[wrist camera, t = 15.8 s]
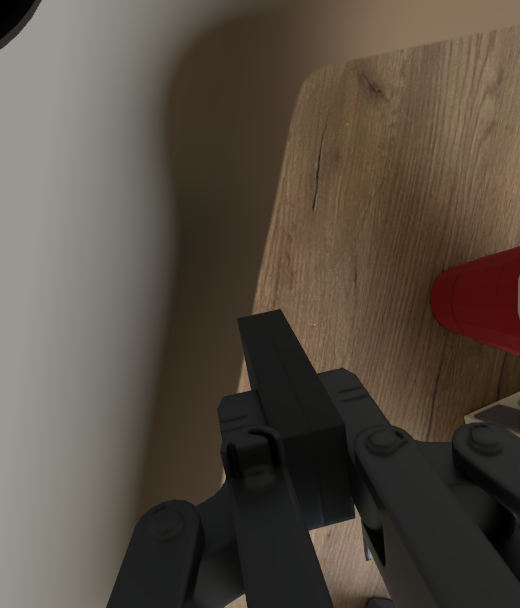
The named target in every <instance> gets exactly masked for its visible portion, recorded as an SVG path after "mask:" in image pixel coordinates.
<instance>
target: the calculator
mask: <svg viewBox="0 0 520 608" xmlns="http://www.w3.org/2000/svg"><path fill="white" fill-rule="evenodd" d="M367 608H396V607H395V605H394V603H393V601H392V600H384V599H377V598H372V599H371V600H370V601H369V603H368V605H367Z"/></svg>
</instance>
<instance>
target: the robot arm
mask: <svg viewBox="0 0 520 608" xmlns="http://www.w3.org/2000/svg"><path fill="white" fill-rule="evenodd" d="M237 320H238V325H239V330H240V335H241V340H242V346H243V351H244V356H245V361H246V366H247V371H248V376H249V381H250V386H251V391H247V392H243V393H238V394H234V395H230V396H226V397H223V398H222V400H221V402H220V405H219V407H218V409H217V410H218V416H219V422H220V429H221V435H222V441H223V443H222V444H221V451H220V453H221V458H222V462H223V466H224V470H225V474H226V480H225V483H224V484H223V486H222V487H221V489H220V490H219V491H218V492H217V493H216V494H215V495H214V496H212V497H211V498H209V499H208V500H206V501H205V502H203V503H201V504H199V505H197V506H194V505H193V504H191V503H189V502H187V501H183V500H171V501H166V502H162V503H160V504H158V505H156V506H154V507H153V508H151V509H150V510H148V511H147V512H146V513H145V514H144V515H143V516H142V517H141V518H140V520H139V522H138V523H137V525H136V527H135V529H134V532H133V535H132V538H131V540H130V543H129V546H128V549H127V551H126V554H125V557H124V560H123V563H122V565H121V568H120V571H119V574H118V576H117V579H116V582H115V585H114V587H113V590H112V593H111V596H110V599H109V601H108V604H107V607H106V608H224V606H226V605H228V604H229V603H231V602H232V601H234V600H235V599H237V598H238V597H240V596H241V595H243V594H244V593H245V595H246V601H247V607H248V608H334V606H333V603H332V600H331V597H330V594H329V591H328V588H327V585H326V582H325V579H324V576H323V573H322V570H321V567H320V564H319V561H318V558H317V555H316V552H315V549H314V546H313V543H312V540H311V537H310V534H309V530H313V529H316V528H320V527H324V526H328V525H331V524H335V523H339V522H343V521H346V520H350V519H354V518H355V509H354V504H355V506H356V508H357V510H358V512H359V514H360V517H361V523H362V533H363V543H364V552H365V557H366V561H368V560H371V555H370V552H371V554H372V556H373V558H374V561H375V563H376V565H377V567H378V569H379V572H380V574H381V576H382V578H383V581H384V583H385V585H386V587H387V589H388V592H389V594H390V596H391V598H392V600H393V603H394V605H395V607H396V608H520V437H519V436H517V435H516V434H514V433H513V432H511V431H509V430H508V429H505V428H503V427H501V426H499V425H496V424H491V423H486V422H472V423H468V424H465V425H462V426H460V427H459V428H458V429H456V430H455V431H454V434H453V436H452V442H423V441H417V440H414V439H413V437H412V436H411V435H410V434H408V433H407V432H406V431H405V430H403V429H401V428H399V427H396V426H392V425H391V424H390V423H389V421H388V420H387V418H386V417H385V416H384V414H383V413H382V411H381V410H380V408H379V407H378V406H377V404H376V403H375V401H374V400H373V399H372V397H371V396H370V395H369V393H368V391H367V390H366V389H365V387H363V384H362V383H361V382H360V380H359V379H358V377H357V376H356V375H355V374H353V373H351V372H349V371H348V370H346V369H344V368H340V369H335V370H331V371H327V372H323V373H318V374H317V373H316V371H315V370H314V368H313V366H312V364H311V362H310V361H309V359H308V357H307V355H306V353H305V352H304V350H303V348H302V346H301V345H300V343H299V341H298V339H297V337H296V336H295V334H294V332H293V330H292V328H291V327H290V325H289V323H288V321H287V320H286V318H285V316H284V314H283V312H282V311H281V309H278V310H274V311H269V312H265V313H260V314H256V315H251V316H247V317H242V318H238V319H237Z"/></svg>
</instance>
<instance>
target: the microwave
mask: <svg viewBox="0 0 520 608" xmlns="http://www.w3.org/2000/svg"><path fill="white" fill-rule="evenodd" d="M464 419H465V424H468V423H472V422H486V423H491V424H496V425H499V426H501V427H503V428H505V429H508V430H509V431H511V432H513V433H514V434H516V435H517V436H519V437H520V392H517V393H515V394H513V395H511V396H508V397H506V398H504V399H501V400H499V401H497V402H495V403H492V404H490V405H488V406H486V407H483V408H481V409H479V410H477V411H474V412H472V413H470V414H468V415H465V416H464Z"/></svg>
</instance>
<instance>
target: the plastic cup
mask: <svg viewBox="0 0 520 608" xmlns="http://www.w3.org/2000/svg"><path fill="white" fill-rule="evenodd" d="M430 304H431V308H432V312H433V315H434V316H435V318H436V319H437V321H438V322H439V324H441V325H442V326H444V327H446V328H447V329H449V330H451V331H452V332H455V333H457V334H460V335H463V336H466V337H469V338H471V339H473V340H474V341H477V342H480V343H483V344H485V345H488V346H491V347H494V348H497V349H500V350H503V351H506V352H509V353H512V354H515V355H517V356H520V246H519V247H516V248H512V249H509V250H505V251H502V252H499V253H495V254H492V255H488V256H485V257H482V258H479V259H476V260H474V261H471V262H467V263H463V264H459V265H456V266H454V267H451V268H449V269H447V270H445V271H443V272H442V273H441V274H440V275H439V276H438V277H437V279H436V280H435V283H434V285H433V287H432V290H431V299H430Z"/></svg>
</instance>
